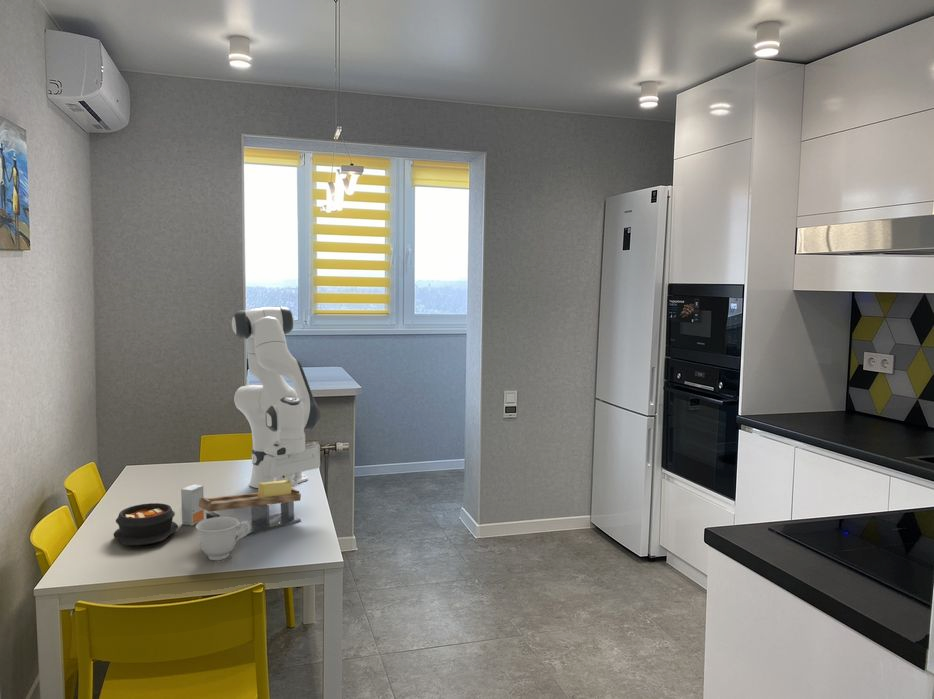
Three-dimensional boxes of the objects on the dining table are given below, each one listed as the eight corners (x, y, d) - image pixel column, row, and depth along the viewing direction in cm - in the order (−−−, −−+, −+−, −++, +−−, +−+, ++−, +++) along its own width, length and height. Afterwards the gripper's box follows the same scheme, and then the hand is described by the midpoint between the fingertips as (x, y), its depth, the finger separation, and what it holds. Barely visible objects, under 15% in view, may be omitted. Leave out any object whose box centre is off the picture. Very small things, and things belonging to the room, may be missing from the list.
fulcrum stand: (285, 514, 246) (284, 491, 245) (300, 521, 239) (300, 498, 238) (200, 536, 225) (199, 511, 224) (215, 544, 218) (214, 519, 217)
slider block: (284, 493, 242) (285, 480, 242) (290, 496, 239) (291, 482, 239) (257, 496, 235) (258, 482, 235) (263, 499, 232) (264, 485, 232)
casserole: (177, 546, 217) (176, 519, 216) (109, 554, 210) (108, 527, 209) (179, 520, 240) (178, 495, 239) (117, 526, 234) (116, 501, 233)
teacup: (250, 561, 206) (249, 527, 205) (195, 566, 202) (194, 532, 201) (250, 545, 218) (249, 513, 217) (198, 551, 213) (197, 518, 212)
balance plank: (289, 495, 245) (290, 487, 245) (300, 500, 240) (301, 491, 240) (198, 506, 222) (199, 496, 222) (208, 511, 218) (209, 502, 217)
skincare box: (192, 526, 234) (190, 490, 233) (181, 524, 236) (180, 488, 235) (204, 520, 240) (203, 485, 239) (194, 518, 241) (193, 483, 240)
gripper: (313, 439, 250) (313, 478, 251) (259, 449, 235) (260, 490, 237) (323, 442, 245) (324, 481, 247) (269, 452, 231) (270, 494, 232)
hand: (292, 485), depth 241 cm, fingers closed
